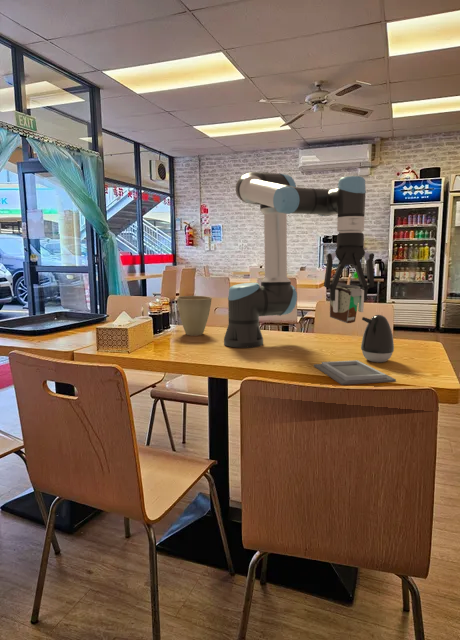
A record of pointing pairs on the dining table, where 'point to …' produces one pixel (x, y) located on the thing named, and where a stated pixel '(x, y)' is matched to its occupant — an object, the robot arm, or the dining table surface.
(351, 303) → the food container
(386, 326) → the pump dispenser
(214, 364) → the dining table surface
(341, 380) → the mat
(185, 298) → the plant pot
